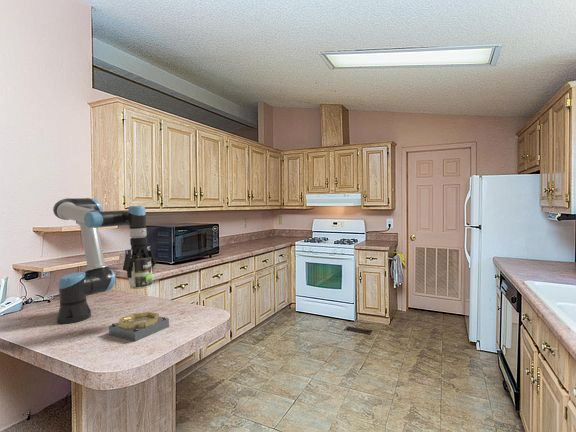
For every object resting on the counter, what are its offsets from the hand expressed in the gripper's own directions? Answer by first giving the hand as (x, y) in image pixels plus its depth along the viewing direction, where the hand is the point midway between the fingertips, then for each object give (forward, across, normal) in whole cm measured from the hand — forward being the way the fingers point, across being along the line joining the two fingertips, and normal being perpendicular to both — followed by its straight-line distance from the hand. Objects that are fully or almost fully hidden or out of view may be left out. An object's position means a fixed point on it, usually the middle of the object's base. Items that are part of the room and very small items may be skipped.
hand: (141, 281), depth 160 cm
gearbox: (+20, -8, -8) cm, 23 cm away
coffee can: (+3, 0, 0) cm, 3 cm away
